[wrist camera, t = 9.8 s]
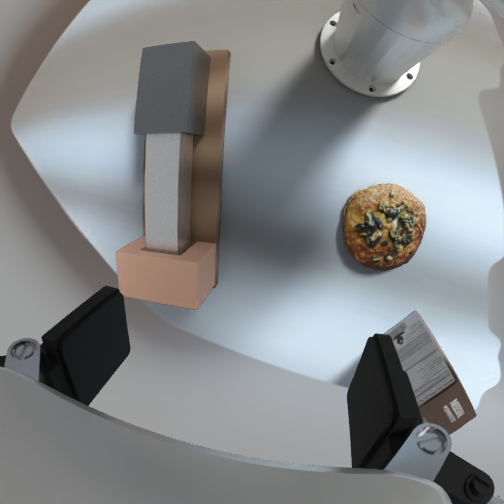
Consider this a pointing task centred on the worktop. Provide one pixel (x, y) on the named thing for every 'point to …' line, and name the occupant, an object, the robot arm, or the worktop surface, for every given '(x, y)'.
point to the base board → (208, 159)
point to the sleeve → (172, 89)
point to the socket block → (167, 274)
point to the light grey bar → (168, 192)
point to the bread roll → (383, 226)
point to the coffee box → (431, 375)
